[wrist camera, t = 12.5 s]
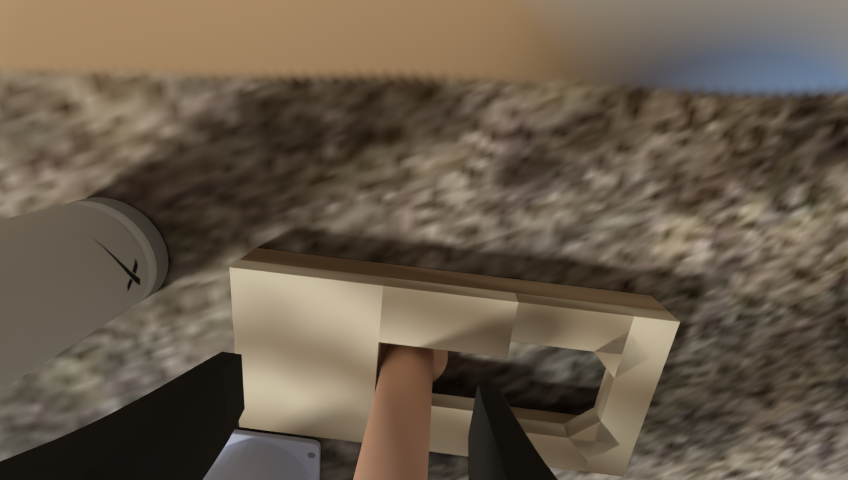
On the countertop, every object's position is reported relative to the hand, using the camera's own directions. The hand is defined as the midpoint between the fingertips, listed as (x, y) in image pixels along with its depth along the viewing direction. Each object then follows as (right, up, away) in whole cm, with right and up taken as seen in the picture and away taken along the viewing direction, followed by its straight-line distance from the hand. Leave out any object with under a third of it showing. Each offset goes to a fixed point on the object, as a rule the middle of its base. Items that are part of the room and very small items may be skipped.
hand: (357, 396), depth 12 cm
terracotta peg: (+1, -2, +11) cm, 12 cm away
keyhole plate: (+3, -2, +11) cm, 12 cm away
